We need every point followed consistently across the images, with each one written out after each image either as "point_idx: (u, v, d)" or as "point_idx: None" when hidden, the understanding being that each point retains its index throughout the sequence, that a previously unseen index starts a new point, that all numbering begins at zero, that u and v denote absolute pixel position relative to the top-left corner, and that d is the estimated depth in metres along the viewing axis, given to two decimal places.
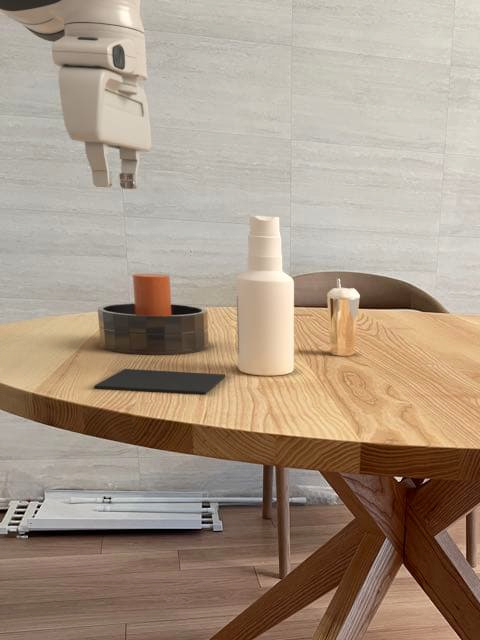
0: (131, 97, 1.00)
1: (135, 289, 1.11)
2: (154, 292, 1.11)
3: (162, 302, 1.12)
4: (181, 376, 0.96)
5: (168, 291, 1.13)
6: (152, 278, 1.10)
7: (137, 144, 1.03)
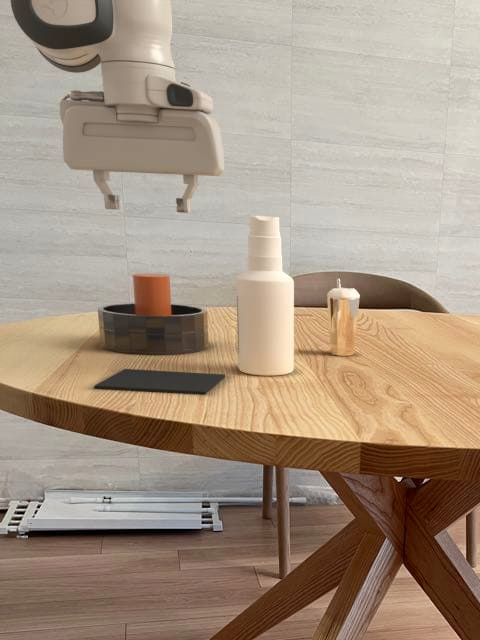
0: None
1: (135, 289, 1.11)
2: (154, 292, 1.11)
3: (162, 302, 1.12)
4: (181, 376, 0.96)
5: (168, 291, 1.13)
6: (152, 278, 1.10)
7: None
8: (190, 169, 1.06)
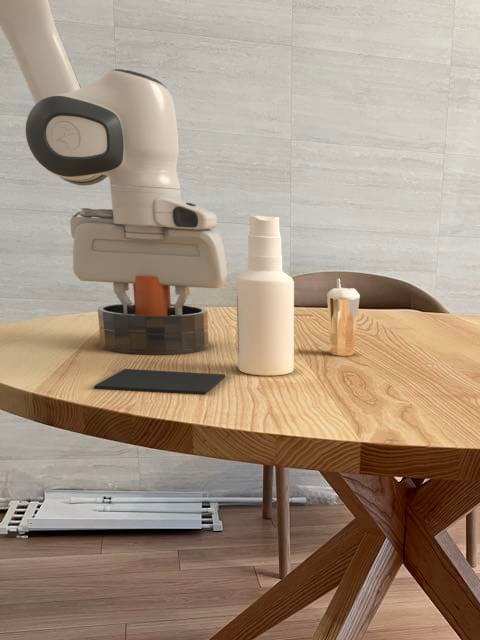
0: None
1: (135, 289, 1.11)
2: (154, 292, 1.11)
3: (161, 302, 1.12)
4: (181, 376, 0.96)
5: (168, 291, 1.13)
6: (152, 278, 1.10)
7: None
8: (194, 283, 1.11)
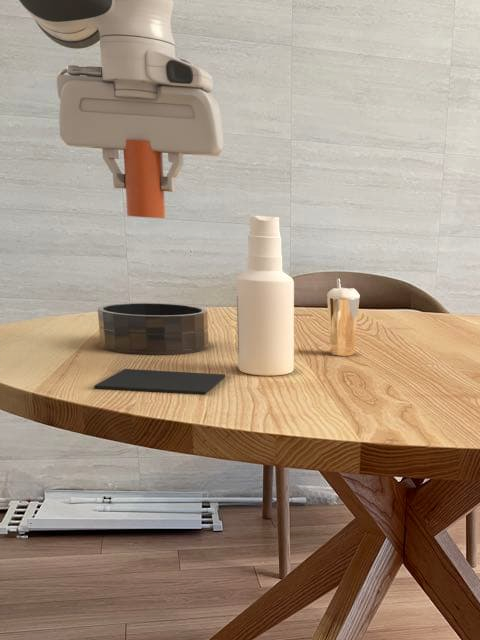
0: None
1: (125, 155, 1.05)
2: (145, 158, 1.04)
3: (153, 170, 1.05)
4: (181, 376, 0.96)
5: (160, 159, 1.06)
6: (143, 142, 1.04)
7: None
8: (189, 148, 1.04)
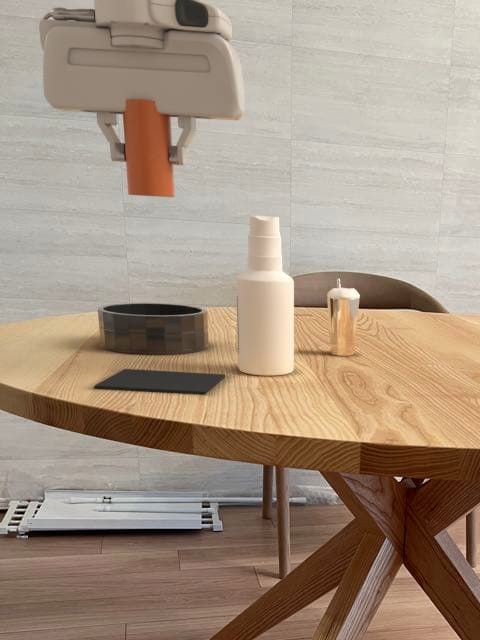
0: None
1: (125, 119, 0.85)
2: (150, 123, 0.84)
3: (160, 137, 0.85)
4: (181, 376, 0.96)
5: (168, 124, 0.86)
6: (147, 102, 0.84)
7: None
8: (203, 110, 0.84)
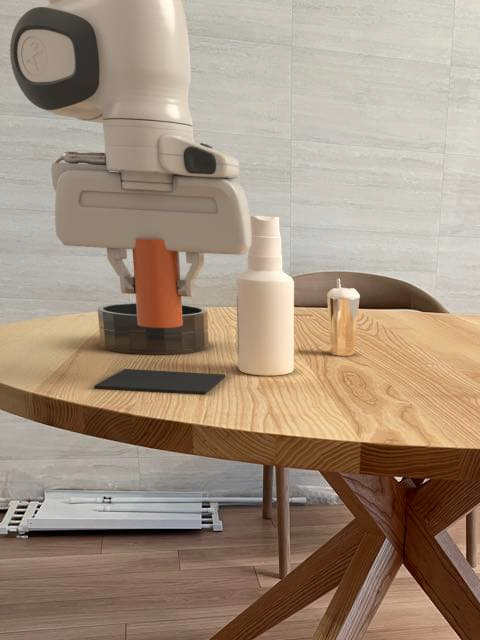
0: None
1: (135, 256, 0.87)
2: (159, 260, 0.87)
3: (169, 273, 0.88)
4: (181, 376, 0.96)
5: (177, 259, 0.88)
6: (156, 241, 0.86)
7: None
8: (211, 248, 0.86)
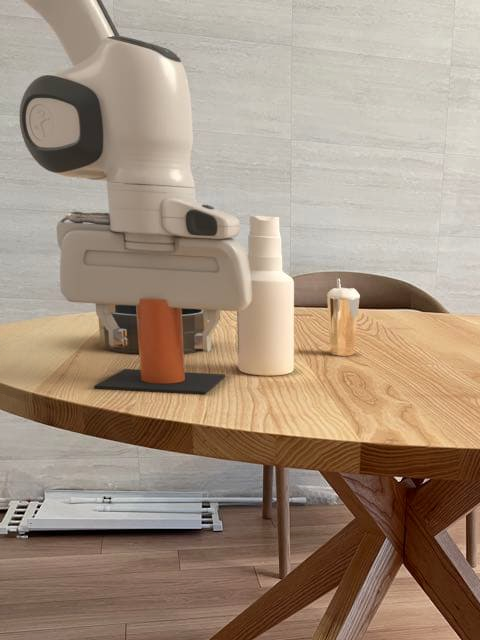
0: None
1: (138, 315, 0.89)
2: (162, 319, 0.89)
3: (172, 331, 0.90)
4: None
5: (179, 317, 0.91)
6: (160, 302, 0.88)
7: None
8: (212, 305, 0.89)
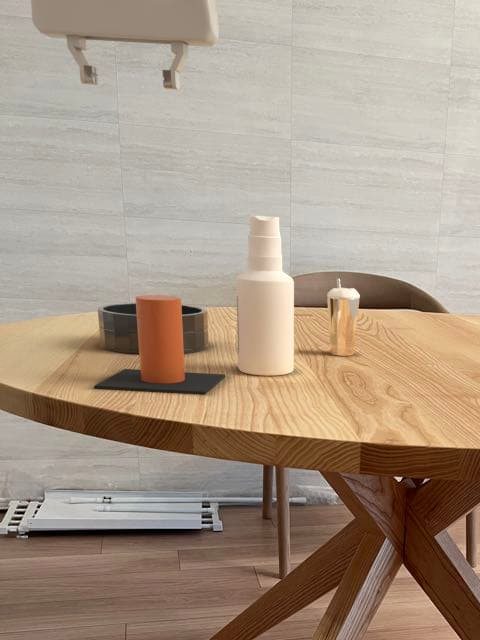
0: None
1: (138, 315, 0.89)
2: (162, 319, 0.89)
3: (172, 331, 0.90)
4: None
5: (179, 317, 0.91)
6: (160, 302, 0.88)
7: None
8: (179, 34, 0.91)
